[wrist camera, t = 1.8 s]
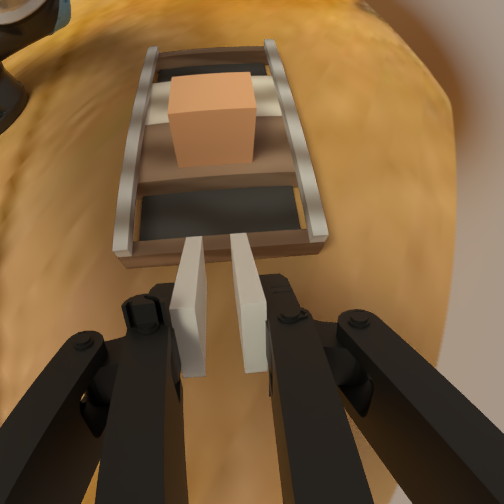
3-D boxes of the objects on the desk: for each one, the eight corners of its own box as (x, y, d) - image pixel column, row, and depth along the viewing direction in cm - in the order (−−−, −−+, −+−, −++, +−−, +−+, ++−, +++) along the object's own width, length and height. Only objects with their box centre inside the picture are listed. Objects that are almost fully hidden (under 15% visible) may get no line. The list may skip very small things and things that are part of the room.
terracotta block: (180, 129, 36) (171, 77, 29) (247, 124, 37) (250, 71, 30) (178, 167, 34) (167, 113, 27) (252, 162, 35) (256, 107, 27)
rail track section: (152, 68, 46) (148, 47, 42) (271, 60, 48) (273, 39, 44) (126, 268, 32) (112, 250, 28) (317, 254, 34) (328, 234, 30)
